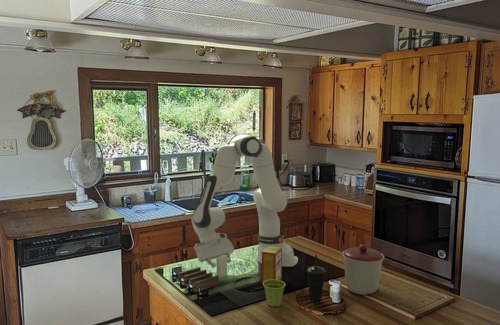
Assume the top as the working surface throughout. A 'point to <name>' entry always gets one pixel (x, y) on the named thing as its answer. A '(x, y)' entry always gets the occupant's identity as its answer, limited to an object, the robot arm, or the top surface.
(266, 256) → the baking soda box
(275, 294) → the plant pot
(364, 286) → the canister
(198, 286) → the rack
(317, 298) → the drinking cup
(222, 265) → the clay tile
